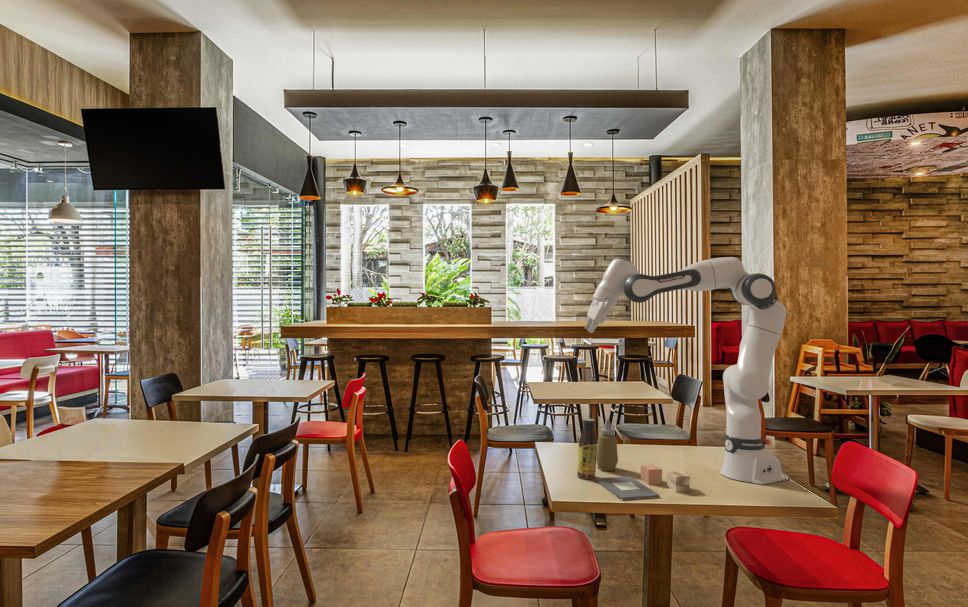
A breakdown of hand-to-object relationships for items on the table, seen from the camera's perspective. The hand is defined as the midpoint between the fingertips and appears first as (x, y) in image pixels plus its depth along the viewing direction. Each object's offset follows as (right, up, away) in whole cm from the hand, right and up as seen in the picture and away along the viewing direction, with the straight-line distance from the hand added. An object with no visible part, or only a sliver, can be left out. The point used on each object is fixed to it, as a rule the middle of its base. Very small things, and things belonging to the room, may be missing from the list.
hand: (588, 331), depth 197 cm
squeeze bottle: (+5, -50, -7) cm, 51 cm away
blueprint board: (+7, -50, -27) cm, 57 cm away
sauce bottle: (-4, -50, -16) cm, 52 cm away
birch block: (+24, -50, -26) cm, 62 cm away
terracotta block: (+17, -50, -19) cm, 57 cm away
